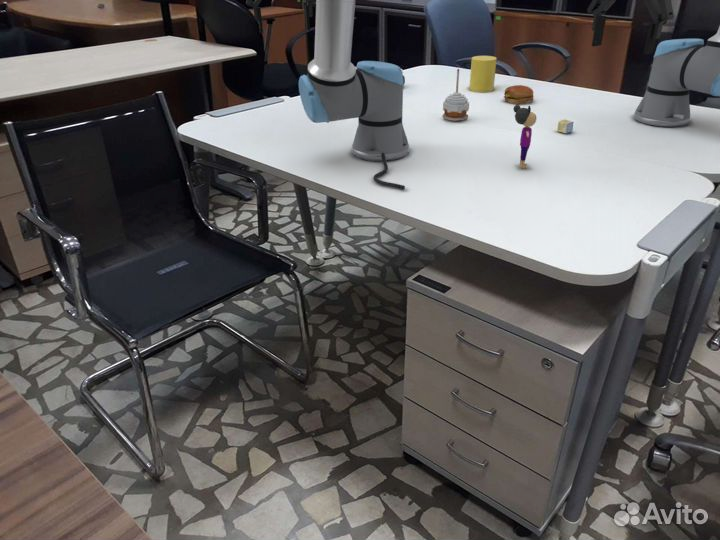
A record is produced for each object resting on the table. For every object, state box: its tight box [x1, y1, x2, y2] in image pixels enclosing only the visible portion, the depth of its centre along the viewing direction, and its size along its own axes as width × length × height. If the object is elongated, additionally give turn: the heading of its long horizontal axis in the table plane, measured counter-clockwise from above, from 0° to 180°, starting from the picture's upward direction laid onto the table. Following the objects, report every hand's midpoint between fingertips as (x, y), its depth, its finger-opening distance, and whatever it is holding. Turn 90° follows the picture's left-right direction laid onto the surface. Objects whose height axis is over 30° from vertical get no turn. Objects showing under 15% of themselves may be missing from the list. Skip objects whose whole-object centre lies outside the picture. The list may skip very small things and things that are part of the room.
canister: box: [469, 55, 498, 93], centre depth 208 cm, size 9×9×11 cm
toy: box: [512, 104, 537, 169], centre depth 139 cm, size 10×6×15 cm, turn 168°
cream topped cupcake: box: [442, 68, 470, 122], centre depth 176 cm, size 8×8×15 cm
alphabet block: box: [557, 119, 574, 134], centre depth 165 cm, size 3×3×3 cm
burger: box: [503, 84, 534, 105], centre depth 195 cm, size 10×9×5 cm
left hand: (285, 31), depth 165 cm, fingers open, 13 cm apart
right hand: (621, 49), depth 134 cm, fingers open, 13 cm apart
